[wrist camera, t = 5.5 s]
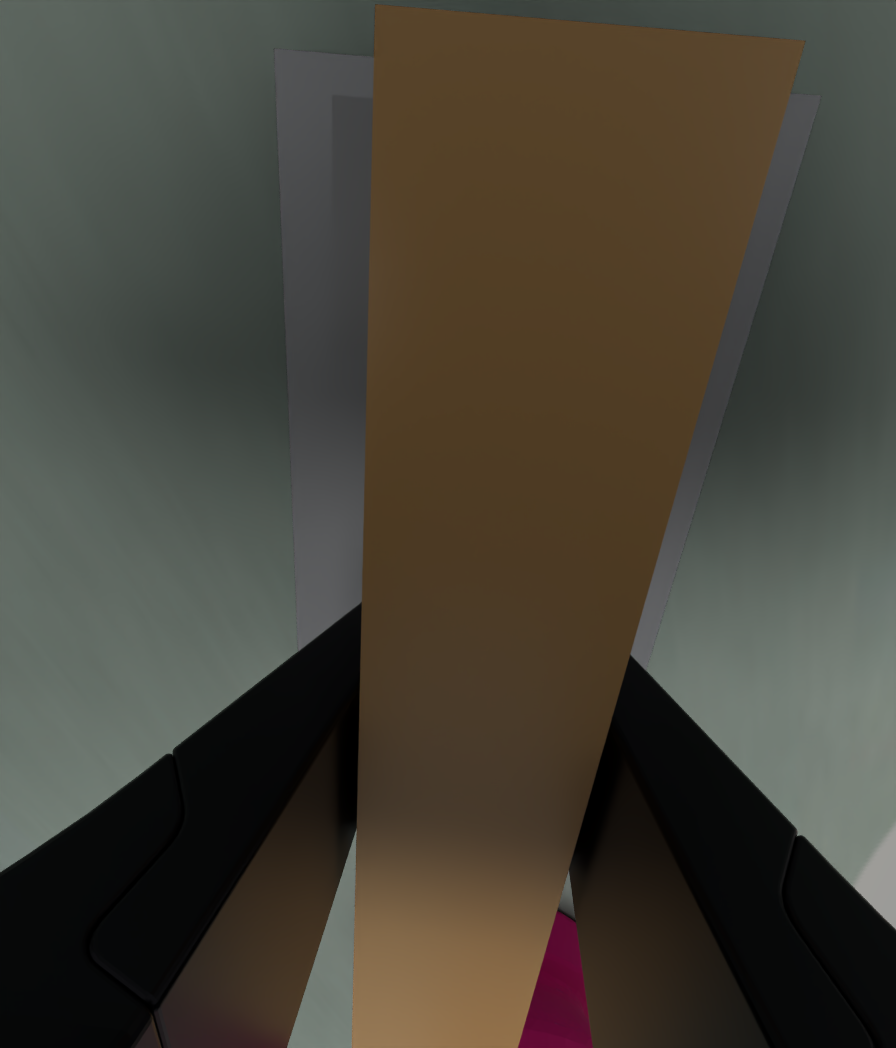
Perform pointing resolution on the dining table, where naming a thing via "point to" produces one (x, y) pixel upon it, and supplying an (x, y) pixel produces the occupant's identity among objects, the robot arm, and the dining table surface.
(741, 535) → the dining table surface
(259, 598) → the dining table surface
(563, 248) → the tan wooden bar
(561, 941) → the pepper mill
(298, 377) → the display stand
